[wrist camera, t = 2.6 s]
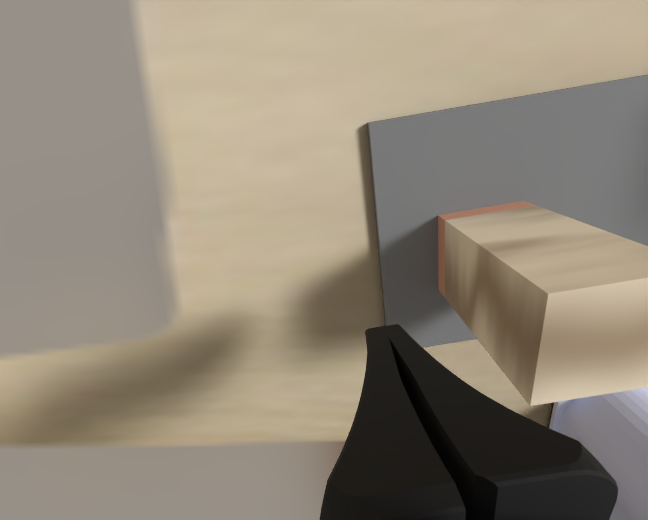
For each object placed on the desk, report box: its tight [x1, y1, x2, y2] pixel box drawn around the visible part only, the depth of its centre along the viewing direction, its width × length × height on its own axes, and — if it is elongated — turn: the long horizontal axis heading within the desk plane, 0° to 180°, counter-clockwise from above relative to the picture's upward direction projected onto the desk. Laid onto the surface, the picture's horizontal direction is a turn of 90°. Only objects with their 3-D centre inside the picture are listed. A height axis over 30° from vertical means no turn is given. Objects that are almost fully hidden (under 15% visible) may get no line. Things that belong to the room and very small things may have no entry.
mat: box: [367, 75, 648, 348], centre depth 19 cm, size 15×18×1 cm
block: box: [438, 201, 648, 406], centre depth 15 cm, size 5×5×9 cm
